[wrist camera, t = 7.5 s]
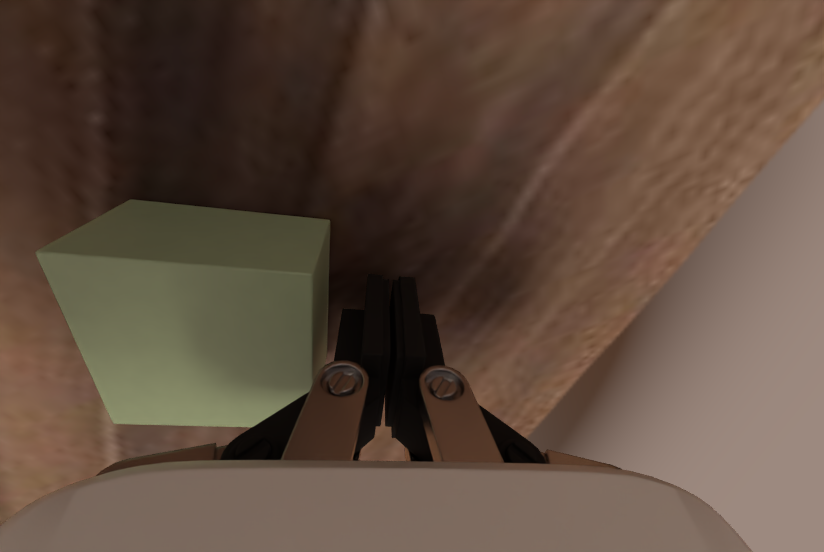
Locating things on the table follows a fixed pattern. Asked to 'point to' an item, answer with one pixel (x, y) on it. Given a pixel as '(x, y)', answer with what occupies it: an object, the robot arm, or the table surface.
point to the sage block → (195, 310)
